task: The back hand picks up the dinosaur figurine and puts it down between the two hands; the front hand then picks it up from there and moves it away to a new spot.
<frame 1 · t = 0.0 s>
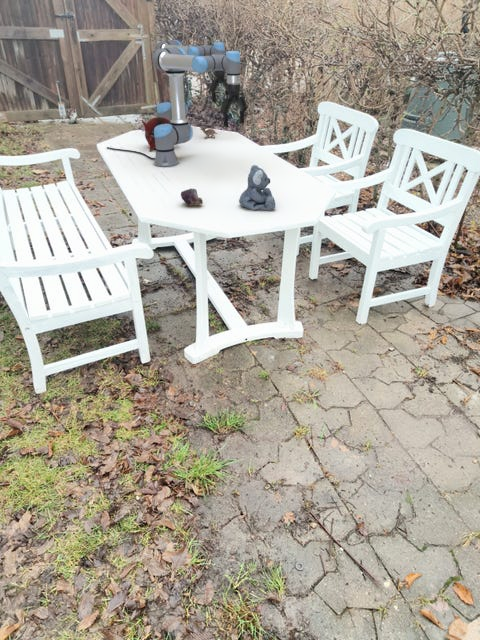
front hand: (234, 125, 259), 28 cm above the table, tool pointing down, fingers open, 13 cm apart
back hand: (220, 101, 328), 28 cm above the table, tool pointing down, fingers open, 13 cm apart
koala plush: (256, 206, 229), on the table
dinosaur figurine: (209, 137, 354), on the table
rock: (191, 204, 231), on the table
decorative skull: (162, 147, 329), on the table
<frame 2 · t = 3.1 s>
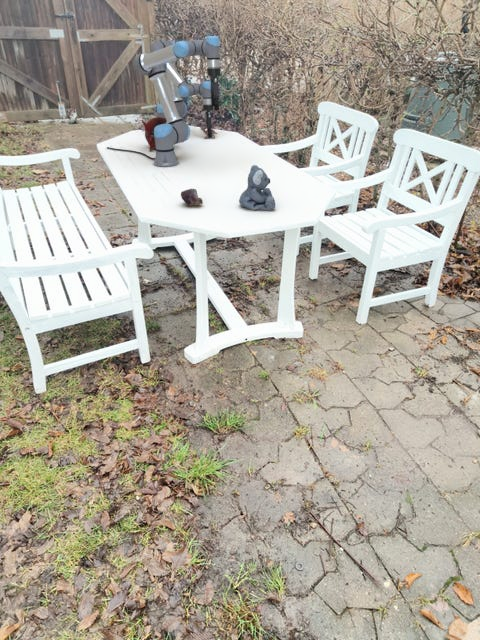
front hand: (215, 108, 269), 34 cm above the table, tool pointing down, fingers open, 13 cm apart
back hand: (209, 136, 354), 1 cm above the table, tool pointing down, fingers closed on dinosaur figurine, 5 cm apart
dinosaur figurine: (209, 137, 354), on the table, touching back hand
everything else where it was.
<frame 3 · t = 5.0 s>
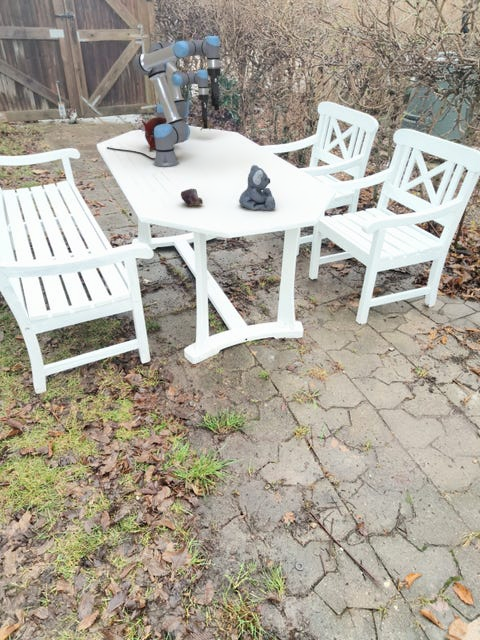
front hand: (215, 108, 269), 34 cm above the table, tool pointing down, fingers open, 13 cm apart
back hand: (205, 127, 343), 9 cm above the table, tool pointing down, fingers closed on dinosaur figurine, 5 cm apart
dinosaur figurine: (205, 129, 344), point 8 cm above the table, touching back hand
everything else where it was.
when the back hand's fingers open (2 cm above the table, at t = 7.1 s): dinosaur figurine drops 1 cm, on the table.
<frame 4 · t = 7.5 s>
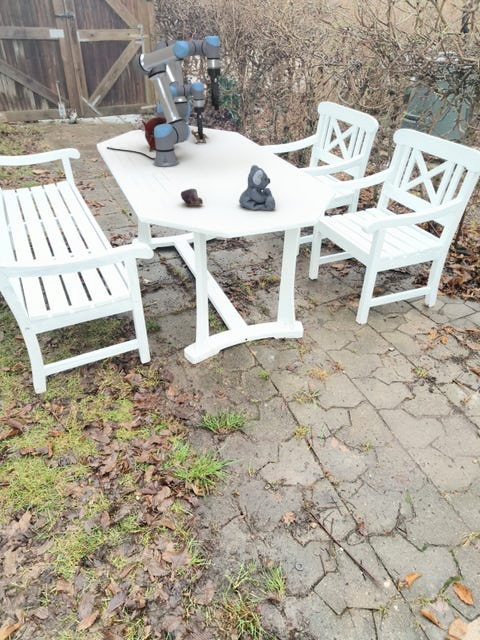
front hand: (215, 108, 269), 34 cm above the table, tool pointing down, fingers open, 13 cm apart
back hand: (200, 137, 339), 4 cm above the table, tool pointing down, fingers open, 11 cm apart
dinosaur figurine: (200, 142, 341), on the table
everything else where it was.
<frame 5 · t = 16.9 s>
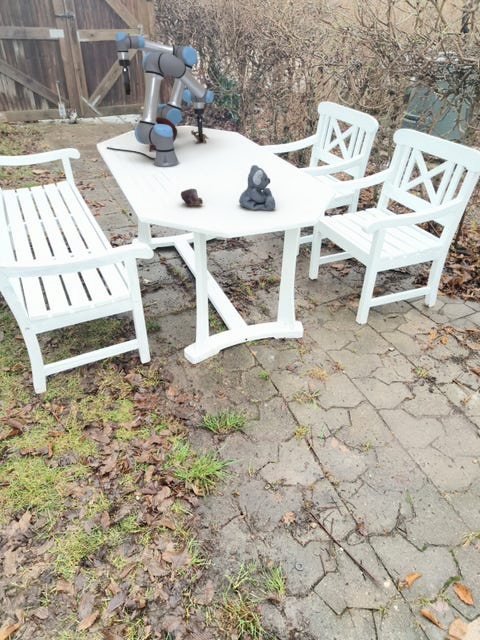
front hand: (200, 141, 341), 1 cm above the table, tool pointing down, fingers closed on dinosaur figurine, 5 cm apart
back hand: (128, 93, 321), 34 cm above the table, tool pointing down, fingers open, 13 cm apart
dinosaur figurine: (200, 142, 341), on the table, touching front hand
everything else where it was.
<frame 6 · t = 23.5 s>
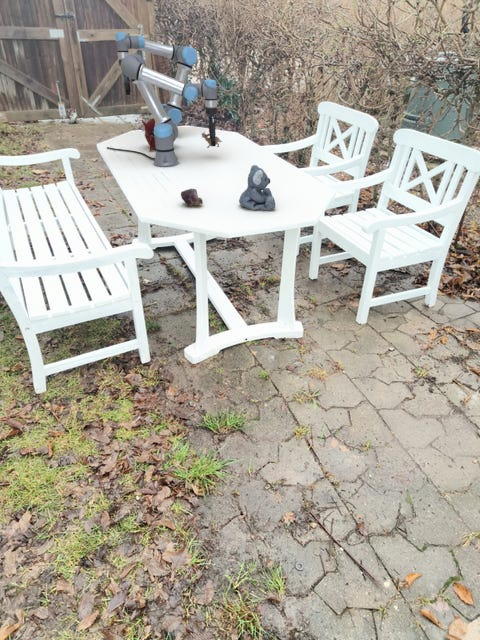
front hand: (212, 145, 299), 9 cm above the table, tool pointing down, fingers closed on dinosaur figurine, 5 cm apart
back hand: (128, 93, 321), 34 cm above the table, tool pointing down, fingers open, 13 cm apart
dinosaur figurine: (212, 146, 300), point 8 cm above the table, touching front hand
everything else where it was.
when the front hand's fingers open (2 cm above the table, at t = 30.3 s): dinosaur figurine drops 1 cm, on the table.
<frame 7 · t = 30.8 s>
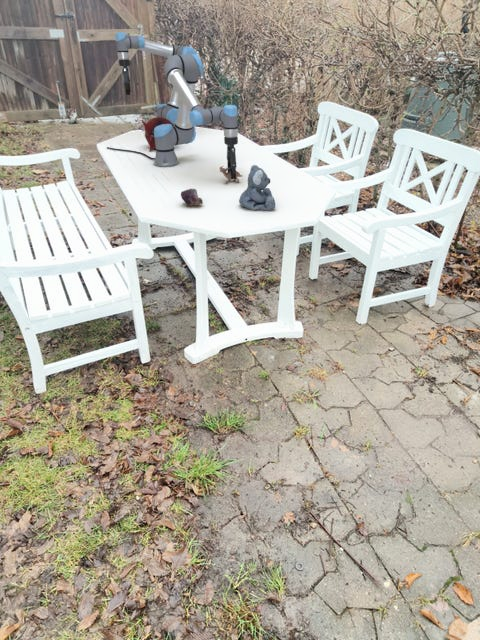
front hand: (231, 175, 260), 4 cm above the table, tool pointing down, fingers open, 12 cm apart
back hand: (128, 93, 321), 34 cm above the table, tool pointing down, fingers open, 13 cm apart
dinosaur figurine: (231, 182, 262), on the table
everything else where it was.
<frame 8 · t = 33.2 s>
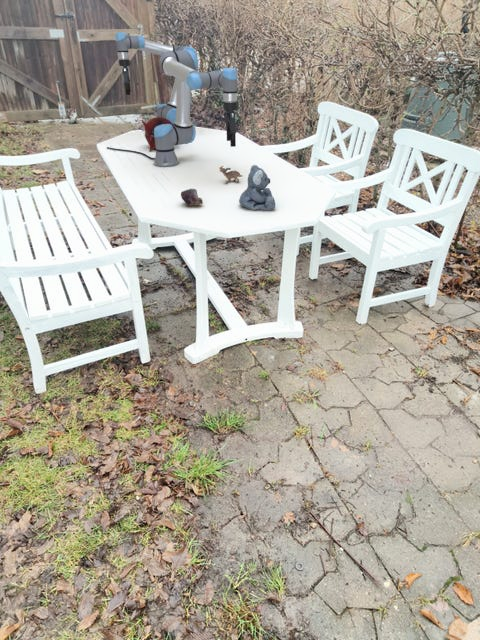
front hand: (231, 143, 250), 21 cm above the table, tool pointing down, fingers open, 13 cm apart
back hand: (128, 93, 321), 34 cm above the table, tool pointing down, fingers open, 13 cm apart
nothing on the table moved.
at the end: dinosaur figurine inside the target area (0.1 cm from its centre), on the table; dinosaur figurine tilted 0°; the two hands never held the dinosaur figurine at the same time; the front hand is holding nothing; the back hand is holding nothing; dinosaur figurine at rest at the end (0.0 cm/s) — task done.
